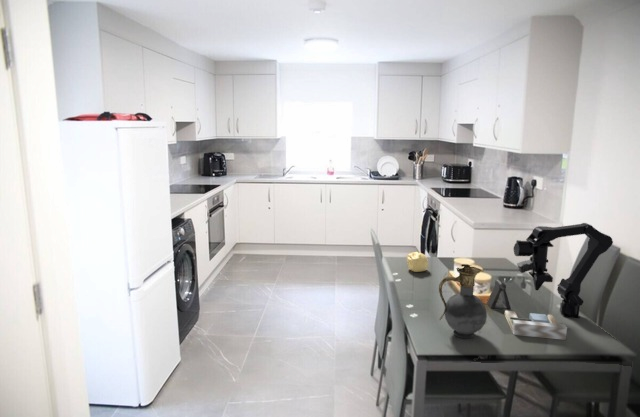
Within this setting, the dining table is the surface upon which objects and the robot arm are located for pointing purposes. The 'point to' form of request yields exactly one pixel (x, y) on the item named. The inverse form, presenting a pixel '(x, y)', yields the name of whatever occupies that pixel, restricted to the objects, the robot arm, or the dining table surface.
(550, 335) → the beige grey patterned tray
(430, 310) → the dining table surface
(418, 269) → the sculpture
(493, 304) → the phone stand
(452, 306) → the pitcher
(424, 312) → the dining table surface
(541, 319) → the pale blue mallet
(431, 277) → the dining table surface
